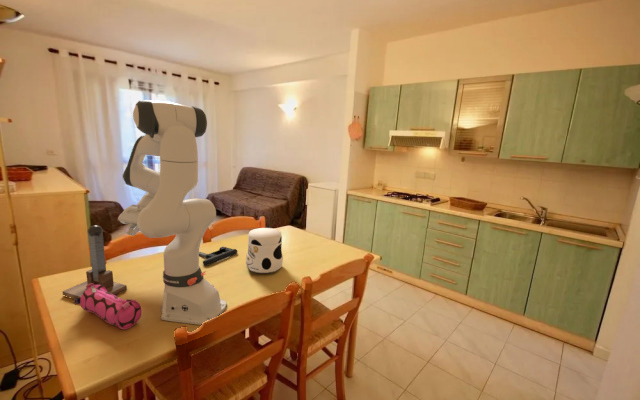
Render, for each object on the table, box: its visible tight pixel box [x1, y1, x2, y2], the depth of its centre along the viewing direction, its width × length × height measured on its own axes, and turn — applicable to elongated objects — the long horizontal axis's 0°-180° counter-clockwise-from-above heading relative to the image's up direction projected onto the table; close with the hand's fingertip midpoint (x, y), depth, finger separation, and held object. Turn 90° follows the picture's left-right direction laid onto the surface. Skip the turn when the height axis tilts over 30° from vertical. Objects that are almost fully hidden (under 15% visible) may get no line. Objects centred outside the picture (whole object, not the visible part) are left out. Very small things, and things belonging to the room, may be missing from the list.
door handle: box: [199, 246, 238, 267], centre depth 147 cm, size 3×20×16 cm
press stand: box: [62, 268, 128, 300], centre depth 108 cm, size 16×12×8 cm
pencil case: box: [73, 283, 143, 330], centre depth 94 cm, size 21×10×10 cm, turn 67°
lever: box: [86, 224, 107, 282], centre depth 107 cm, size 4×4×22 cm
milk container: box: [245, 227, 284, 275], centre depth 136 cm, size 17×17×18 cm
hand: (130, 234), depth 119 cm, fingers closed
